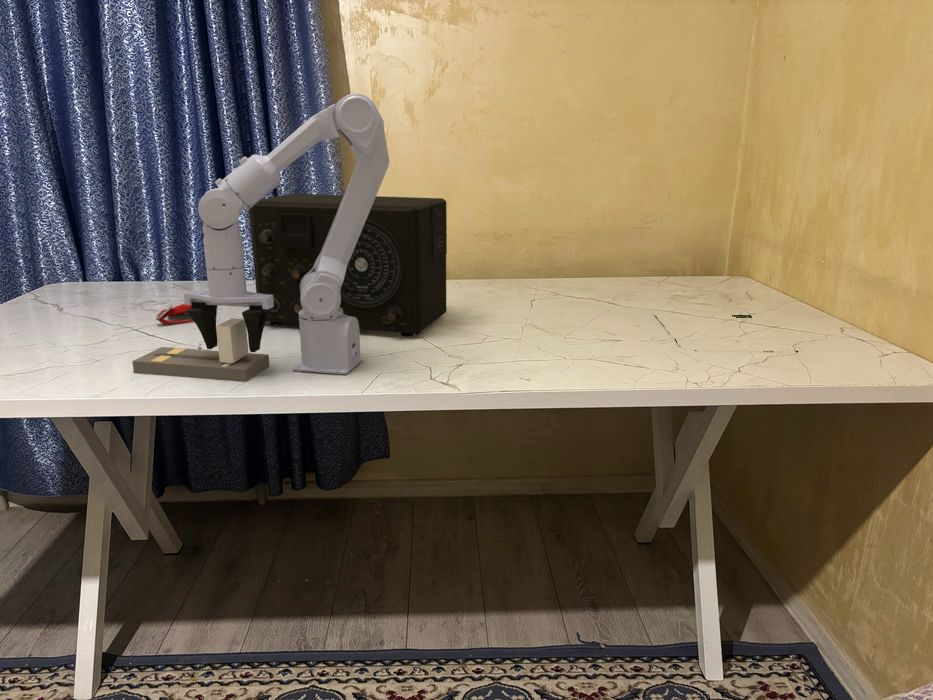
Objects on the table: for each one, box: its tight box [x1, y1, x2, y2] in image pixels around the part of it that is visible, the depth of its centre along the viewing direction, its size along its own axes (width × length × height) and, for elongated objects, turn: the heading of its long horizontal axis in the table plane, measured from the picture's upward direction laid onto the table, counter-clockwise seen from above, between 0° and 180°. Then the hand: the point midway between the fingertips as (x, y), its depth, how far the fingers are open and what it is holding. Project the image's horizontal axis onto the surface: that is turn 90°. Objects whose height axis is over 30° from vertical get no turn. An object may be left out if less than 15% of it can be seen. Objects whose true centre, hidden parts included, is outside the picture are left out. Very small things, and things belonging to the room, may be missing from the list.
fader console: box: [131, 346, 270, 382], centre depth 118 cm, size 20×8×2 cm, turn 78°
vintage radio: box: [248, 193, 448, 338], centre depth 143 cm, size 38×20×25 cm, turn 74°
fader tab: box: [216, 317, 250, 363], centre depth 115 cm, size 2×5×6 cm, turn 168°
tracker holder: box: [155, 303, 194, 325], centre depth 148 cm, size 12×4×10 cm
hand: (233, 349), depth 116 cm, fingers open, 7 cm apart
